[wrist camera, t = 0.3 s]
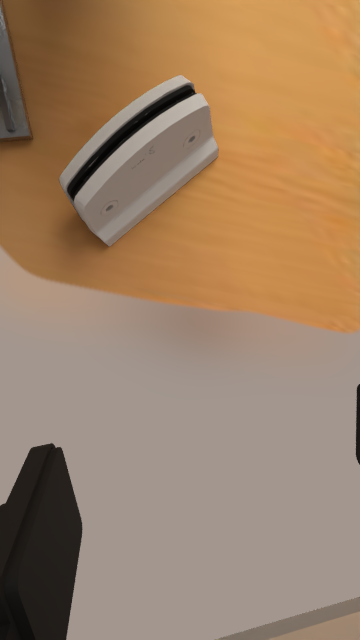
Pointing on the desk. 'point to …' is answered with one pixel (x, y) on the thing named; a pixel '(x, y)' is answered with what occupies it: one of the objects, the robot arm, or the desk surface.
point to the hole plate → (11, 90)
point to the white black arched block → (140, 158)
